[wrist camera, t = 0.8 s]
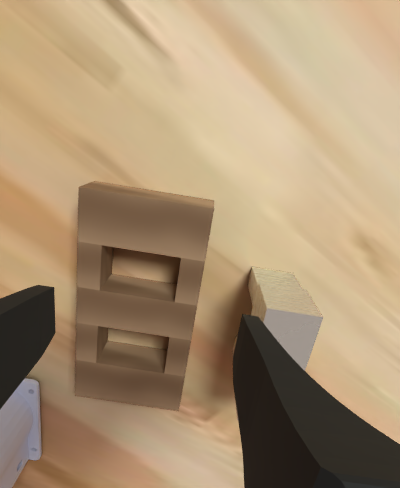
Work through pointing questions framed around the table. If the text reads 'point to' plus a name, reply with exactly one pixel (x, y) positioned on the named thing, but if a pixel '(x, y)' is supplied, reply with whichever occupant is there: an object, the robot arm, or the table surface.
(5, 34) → the table surface
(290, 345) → the grey arch block
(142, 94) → the table surface
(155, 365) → the walnut mortise block
